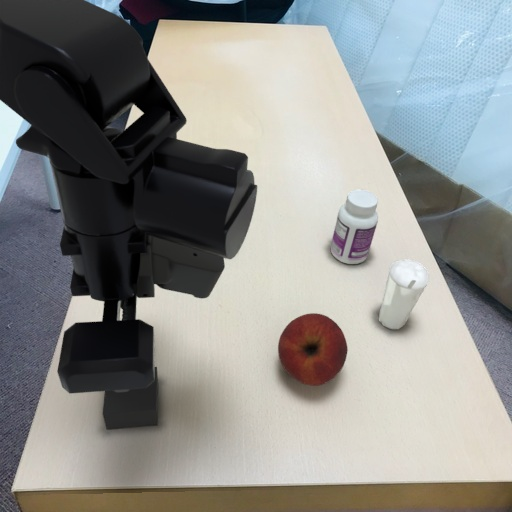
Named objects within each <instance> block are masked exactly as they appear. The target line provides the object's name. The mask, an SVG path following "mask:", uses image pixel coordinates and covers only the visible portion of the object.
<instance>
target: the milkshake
mask: <svg viewBox="0 0 512 512" xmlns="http://www.w3.org/2000/svg"><path fill="white" fill-rule="evenodd" d="M429 282H430V273H429V271H428V269H427V268H426V267H425V266H424V264H423V263H420V262H419V261H417V260H414V259H413V260H412V259H409V258H405V259H400V260H396V261H394V262H392V264H390V266H389V270H388V275H387V279H386V284H385V289H384V293H383V297H382V301H381V305H380V308H379V309H380V310H379V312H378V321H379V322H380V323H381V325H382V326H383V327H385V328H387V329H389V330H400V329H401V328H403V327H404V326H405V324H406V323H407V320H409V317H410V316H411V313H412V312H413V310H414V308H415V307H416V304H417V303H418V302H419V299H420V298H421V296H422V295H423V293H424V291H425V289H426V288H427V287H428V285H429Z"/></svg>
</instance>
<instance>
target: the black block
mask: <svg viewBox="0 0 512 512" xmlns="http://www.w3.org/2000/svg"><path fill="white" fill-rule="evenodd" d="M158 374H159V373H158V367H157V366H155V380H154V382H152V383H151V384H150V385H149V386H148V387H147V388H141V389H129V391H128V392H115V391H104V396H103V407H102V417H103V421H104V425H105V430H118V429H132V428H142V427H143V428H144V427H154V426H157V427H158V425H159V376H158Z"/></svg>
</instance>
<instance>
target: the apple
mask: <svg viewBox="0 0 512 512" xmlns="http://www.w3.org/2000/svg"><path fill="white" fill-rule="evenodd" d="M277 344H278V345H277V352H278V358H279V361H280V363H281V365H282V367H283V369H284V370H285V372H287V374H288V375H289V376H290V377H292V378H293V379H294V380H296V381H298V382H300V383H301V384H304V385H307V386H314V387H315V386H321V385H325V384H327V383H329V382H330V381H332V380H333V379H335V378H336V376H337V375H339V373H340V372H341V370H342V369H343V368H344V366H345V363H346V360H347V356H348V351H349V349H348V343H347V340H346V337H345V334H344V332H343V330H342V328H341V327H340V326H339V324H338V323H337V322H335V320H333V319H332V318H330V317H329V316H327V315H325V314H322V313H315V312H314V313H306V314H305V313H304V314H302V315H300V316H297V317H296V318H294V319H292V320H291V321H290V322H289V323H288V324H287V325H286V326H285V327H284V329H283V330H282V332H281V334H280V337H279V338H278V343H277Z"/></svg>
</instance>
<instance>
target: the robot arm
mask: <svg viewBox="0 0 512 512" xmlns="http://www.w3.org/2000/svg"><path fill="white" fill-rule="evenodd" d="M143 44H144V41H143V38H142V37H141V36H140V34H139V32H138V31H137V30H136V29H135V27H133V26H132V25H131V24H130V23H129V22H128V21H127V20H126V19H124V18H123V17H121V16H119V15H117V14H115V13H114V12H112V11H109V10H107V9H105V8H102V7H100V6H99V5H96V4H94V3H92V2H90V1H87V0H0V102H2V103H3V104H4V105H5V106H7V107H8V108H9V109H11V110H12V111H13V112H14V113H16V114H17V115H18V116H19V117H21V118H22V119H23V120H24V121H25V122H27V123H28V124H29V125H30V127H29V128H28V129H27V130H26V131H25V132H24V133H23V134H22V135H20V136H19V137H18V138H17V137H16V139H15V144H16V147H17V148H18V149H20V150H22V151H26V152H30V153H33V154H37V155H39V156H44V157H46V158H47V159H48V160H49V161H48V162H49V165H50V170H51V173H52V178H53V182H54V187H55V192H56V196H57V200H58V206H59V209H60V214H61V218H62V223H63V229H62V233H61V238H60V243H59V247H60V252H61V255H62V256H63V257H66V256H67V257H69V256H70V258H71V263H72V267H73V268H72V273H71V274H72V275H71V279H70V286H69V288H70V289H69V290H70V292H71V296H72V297H85V296H86V297H89V296H90V298H91V299H92V300H94V301H99V302H103V310H102V318H101V319H102V320H101V321H100V320H99V321H98V320H97V321H79V322H78V321H77V322H74V323H73V324H72V325H71V326H69V327H68V328H67V329H66V330H64V331H63V336H62V341H61V346H60V347H61V348H60V353H59V358H58V364H57V369H56V370H57V371H56V373H57V376H58V378H59V382H60V384H61V388H62V389H63V390H65V391H66V392H67V393H68V394H84V393H98V392H99V393H100V392H105V391H115V392H128V391H129V389H141V388H147V387H148V386H149V385H150V384H151V383H152V382H154V380H155V367H156V364H155V363H156V346H155V344H156V343H155V342H156V341H155V328H154V326H153V325H152V324H149V323H148V322H146V321H144V320H142V319H139V318H137V305H138V299H146V298H147V299H148V298H149V299H150V298H156V297H155V296H156V295H155V294H156V292H155V291H156V290H155V289H156V287H155V285H156V286H157V287H158V288H160V289H163V290H166V291H171V292H176V293H180V294H185V295H190V296H192V297H194V298H197V299H208V298H209V297H210V296H211V294H212V292H213V290H214V289H215V286H216V284H217V283H218V281H219V279H220V277H221V275H222V274H223V272H224V270H225V268H226V266H225V265H226V264H225V259H227V260H232V259H234V258H235V257H236V256H237V254H239V252H240V250H241V248H242V246H243V244H244V241H245V240H246V237H247V233H248V232H249V228H250V226H251V223H252V219H253V215H254V212H255V207H256V202H257V196H258V184H255V183H256V182H255V175H254V172H253V171H252V170H251V169H248V164H249V157H248V155H247V154H246V153H245V152H241V151H237V150H232V149H228V148H214V147H210V146H205V145H201V144H198V143H195V142H190V141H186V140H182V139H178V135H177V134H178V132H180V130H182V128H184V127H185V125H187V121H188V119H187V117H186V116H185V114H184V113H183V111H182V109H181V108H180V106H179V105H178V103H177V101H176V100H175V99H174V97H173V95H172V94H171V93H170V90H168V87H167V86H166V85H165V83H164V81H163V80H162V78H161V77H160V76H159V74H158V73H157V71H156V70H155V68H154V66H153V65H152V63H151V61H150V60H149V58H148V55H147V53H146V50H145V48H144V46H143ZM133 106H135V107H136V108H137V109H138V110H140V112H141V113H143V114H141V115H140V116H139V117H137V119H135V120H134V121H133V122H131V124H130V125H129V126H127V127H126V128H125V129H124V130H123V131H122V130H121V129H120V128H117V127H113V126H110V125H111V124H112V123H113V122H114V121H115V120H117V119H118V118H120V117H121V116H122V115H123V114H124V113H126V112H127V111H128V110H129V109H130V108H131V107H133ZM121 312H122V313H121ZM121 317H122V318H121Z"/></svg>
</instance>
